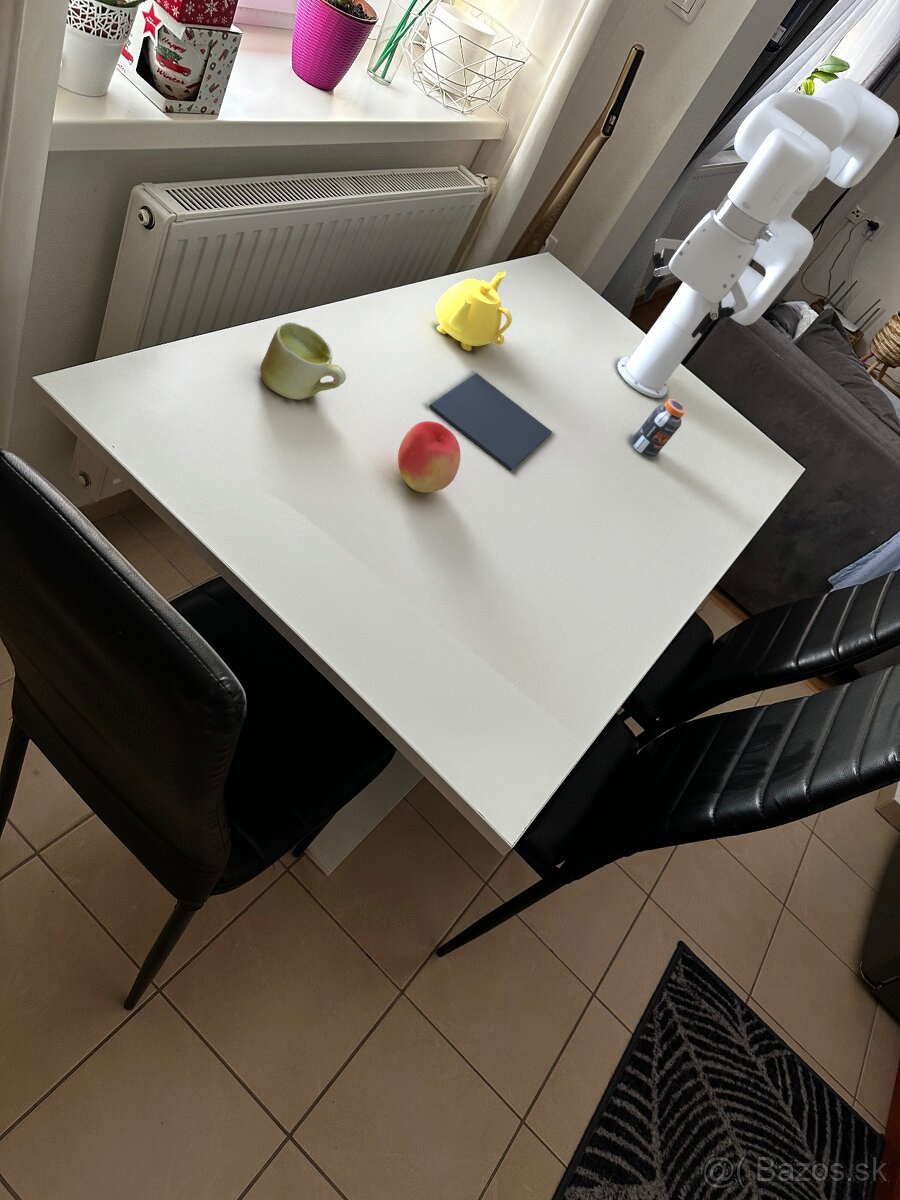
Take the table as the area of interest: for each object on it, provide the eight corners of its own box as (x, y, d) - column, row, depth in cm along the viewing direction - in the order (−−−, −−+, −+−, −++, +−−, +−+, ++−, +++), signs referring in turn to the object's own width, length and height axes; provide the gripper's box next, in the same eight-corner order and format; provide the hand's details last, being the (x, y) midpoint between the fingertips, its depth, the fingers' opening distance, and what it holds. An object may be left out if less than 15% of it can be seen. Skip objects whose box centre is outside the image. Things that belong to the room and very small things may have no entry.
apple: (376, 481, 129) (402, 432, 122) (399, 451, 136) (425, 403, 129) (430, 515, 129) (459, 468, 123) (451, 484, 136) (479, 438, 130)
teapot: (476, 376, 160) (504, 326, 152) (411, 331, 160) (436, 278, 152) (511, 341, 175) (539, 294, 167) (452, 299, 175) (477, 250, 167)
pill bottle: (640, 458, 168) (675, 415, 161) (625, 437, 171) (659, 393, 163) (660, 458, 172) (695, 416, 164) (645, 437, 174) (679, 395, 167)
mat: (475, 375, 160) (476, 372, 160) (550, 433, 159) (552, 431, 159) (428, 406, 147) (430, 404, 147) (510, 471, 146) (512, 468, 146)
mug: (236, 363, 128) (277, 314, 124) (268, 360, 138) (307, 314, 134) (292, 424, 129) (334, 378, 125) (320, 417, 138) (360, 373, 134)
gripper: (792, 250, 128) (719, 342, 139) (699, 182, 129) (635, 279, 141) (782, 260, 122) (707, 355, 134) (686, 188, 124) (620, 289, 135)
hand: (670, 316), depth 137 cm, fingers open, 9 cm apart
